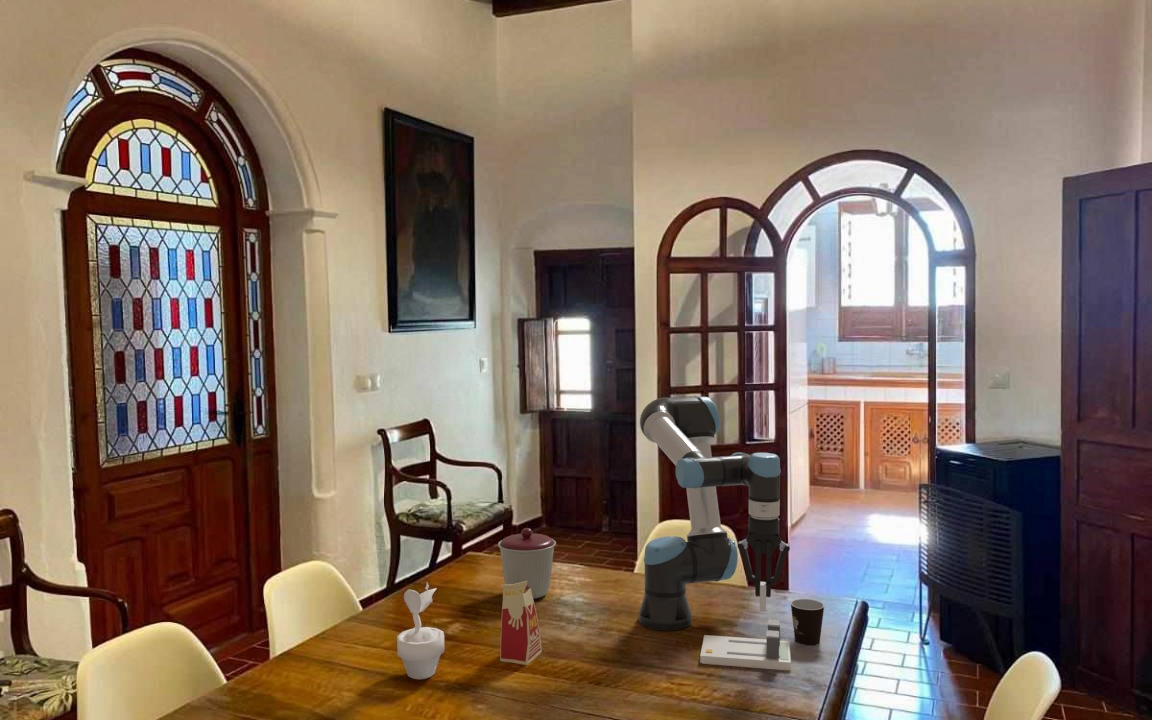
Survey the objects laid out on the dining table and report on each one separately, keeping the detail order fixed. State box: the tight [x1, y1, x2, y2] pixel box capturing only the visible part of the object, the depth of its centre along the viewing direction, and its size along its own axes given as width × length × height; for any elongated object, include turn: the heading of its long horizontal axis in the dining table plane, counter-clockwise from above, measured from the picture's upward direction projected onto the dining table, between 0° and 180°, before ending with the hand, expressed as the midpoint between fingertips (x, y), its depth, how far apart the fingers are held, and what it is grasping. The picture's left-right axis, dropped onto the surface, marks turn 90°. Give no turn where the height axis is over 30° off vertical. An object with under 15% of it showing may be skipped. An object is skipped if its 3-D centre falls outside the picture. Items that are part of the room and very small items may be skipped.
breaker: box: [767, 618, 781, 646], centre depth 221 cm, size 3×4×5 cm
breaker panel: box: [699, 634, 792, 671], centre depth 219 cm, size 22×14×2 cm, turn 77°
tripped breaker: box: [766, 629, 779, 658], centre depth 213 cm, size 3×4×5 cm
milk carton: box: [499, 581, 543, 666], centre depth 220 cm, size 9×9×20 cm
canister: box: [497, 527, 557, 600], centre depth 268 cm, size 18×18×21 cm
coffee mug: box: [790, 598, 825, 647], centre depth 229 cm, size 12×9×10 cm
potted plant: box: [396, 582, 445, 680], centre depth 209 cm, size 13×12×25 cm
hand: (762, 608), depth 214 cm, fingers closed
